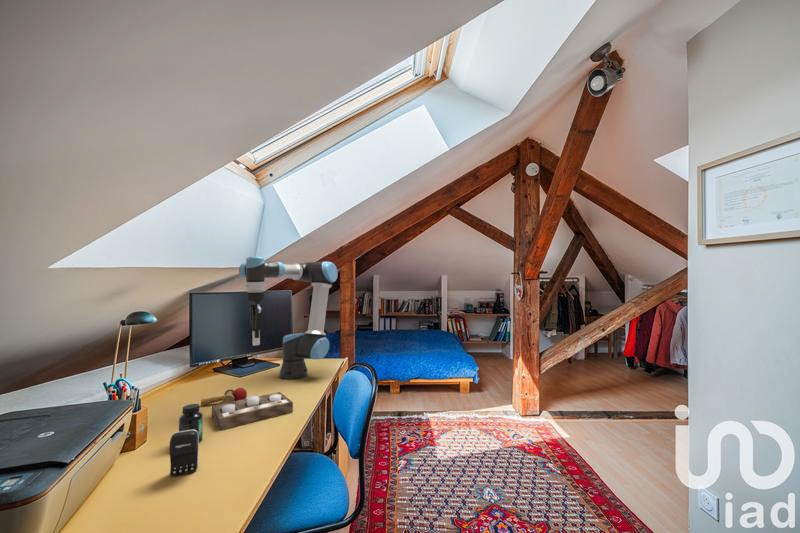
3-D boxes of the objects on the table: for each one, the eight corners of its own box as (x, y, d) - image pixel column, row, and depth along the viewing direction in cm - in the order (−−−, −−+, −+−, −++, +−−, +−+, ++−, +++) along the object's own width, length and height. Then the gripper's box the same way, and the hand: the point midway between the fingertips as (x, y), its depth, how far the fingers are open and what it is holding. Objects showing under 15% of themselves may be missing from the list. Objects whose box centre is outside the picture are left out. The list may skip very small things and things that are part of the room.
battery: (167, 479, 95) (168, 437, 95) (170, 472, 98) (170, 432, 99) (197, 473, 98) (197, 432, 98) (198, 466, 101) (199, 427, 102)
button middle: (257, 406, 143) (257, 395, 143) (260, 409, 140) (260, 398, 140) (245, 408, 140) (245, 397, 141) (248, 412, 137) (248, 400, 137)
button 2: (279, 404, 149) (279, 393, 149) (282, 407, 145) (282, 396, 145) (268, 406, 146) (268, 395, 146) (271, 409, 142) (271, 398, 142)
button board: (279, 400, 155) (279, 391, 155) (292, 411, 142) (292, 401, 142) (211, 416, 138) (211, 405, 138) (219, 430, 125) (219, 418, 125)
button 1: (233, 414, 138) (233, 403, 138) (236, 418, 134) (236, 406, 134) (220, 417, 135) (220, 405, 135) (223, 421, 131) (223, 409, 131)
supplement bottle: (206, 440, 117) (206, 405, 118) (185, 449, 112) (185, 411, 112) (195, 435, 121) (196, 401, 121) (174, 443, 115) (175, 407, 116)
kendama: (200, 413, 145) (246, 401, 151) (198, 397, 146) (245, 386, 152) (204, 409, 152) (248, 398, 158) (202, 395, 153) (246, 384, 159)
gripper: (242, 291, 156) (243, 343, 156) (250, 292, 146) (251, 348, 146) (260, 290, 161) (260, 341, 161) (268, 291, 150) (269, 346, 150)
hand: (256, 344), depth 153 cm, fingers closed
